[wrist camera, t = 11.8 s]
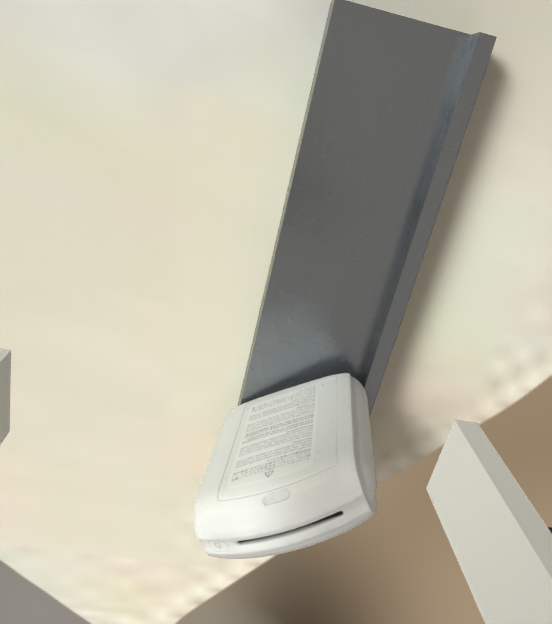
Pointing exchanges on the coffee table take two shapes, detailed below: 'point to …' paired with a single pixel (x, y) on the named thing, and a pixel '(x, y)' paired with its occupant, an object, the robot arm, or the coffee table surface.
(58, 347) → the coffee table surface
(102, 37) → the coffee table surface
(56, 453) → the coffee table surface
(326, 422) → the photo printer
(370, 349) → the rail
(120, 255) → the coffee table surface
